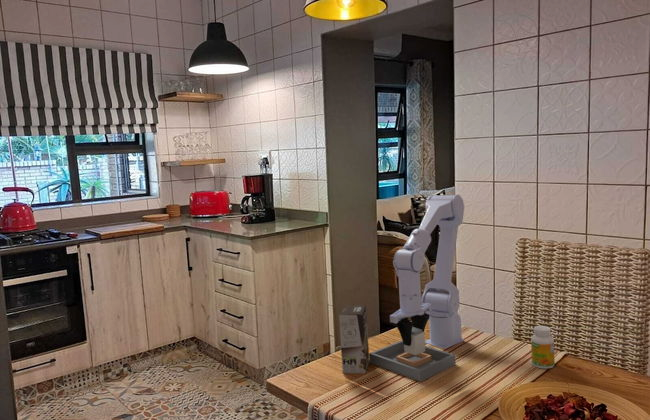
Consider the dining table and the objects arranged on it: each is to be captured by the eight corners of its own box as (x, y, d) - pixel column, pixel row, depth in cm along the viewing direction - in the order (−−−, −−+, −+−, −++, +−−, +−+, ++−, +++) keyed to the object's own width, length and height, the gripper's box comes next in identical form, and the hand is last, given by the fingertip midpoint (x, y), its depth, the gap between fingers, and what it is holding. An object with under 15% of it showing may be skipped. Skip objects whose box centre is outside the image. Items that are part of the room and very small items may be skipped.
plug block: (414, 347, 141) (413, 326, 140) (425, 350, 138) (424, 329, 137) (404, 351, 138) (403, 330, 138) (415, 355, 135) (414, 333, 135)
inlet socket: (412, 353, 143) (412, 349, 143) (431, 359, 138) (431, 355, 138) (396, 360, 139) (396, 356, 139) (415, 367, 134) (414, 362, 134)
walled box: (404, 349, 148) (404, 339, 148) (455, 365, 134) (455, 354, 134) (369, 363, 139) (369, 353, 139) (420, 383, 125) (419, 371, 125)
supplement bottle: (528, 366, 131) (527, 329, 130) (536, 359, 134) (535, 323, 134) (550, 370, 127) (549, 333, 126) (557, 363, 131) (556, 326, 130)
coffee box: (366, 374, 132) (362, 314, 131) (342, 374, 134) (337, 314, 132) (370, 360, 141) (366, 304, 140) (347, 360, 143) (343, 304, 141)
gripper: (402, 301, 129) (405, 353, 130) (439, 290, 138) (441, 338, 139) (383, 297, 135) (386, 347, 136) (419, 286, 144) (421, 333, 145)
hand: (412, 342), depth 138 cm, fingers closed on plug block, 4 cm apart
